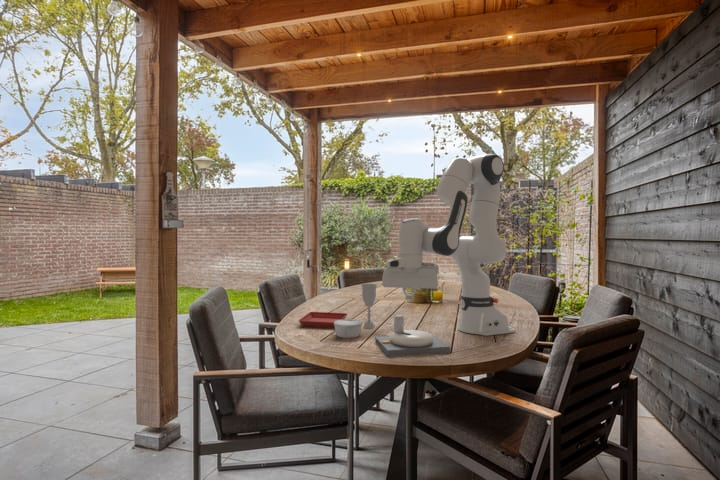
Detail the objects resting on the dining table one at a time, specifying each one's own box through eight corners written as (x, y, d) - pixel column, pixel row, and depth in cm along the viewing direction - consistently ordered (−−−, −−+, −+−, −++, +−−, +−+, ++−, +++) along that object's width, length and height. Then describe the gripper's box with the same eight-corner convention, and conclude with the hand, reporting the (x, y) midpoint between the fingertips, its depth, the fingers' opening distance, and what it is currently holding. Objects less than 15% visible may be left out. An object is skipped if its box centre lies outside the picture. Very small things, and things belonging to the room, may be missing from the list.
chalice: (375, 329, 171) (375, 286, 171) (359, 328, 172) (359, 285, 172) (378, 325, 178) (378, 284, 178) (362, 324, 180) (362, 283, 179)
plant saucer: (339, 329, 172) (339, 321, 172) (297, 327, 175) (297, 320, 175) (347, 320, 190) (348, 313, 190) (310, 318, 193) (310, 311, 193)
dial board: (431, 339, 156) (431, 332, 156) (450, 352, 139) (450, 344, 139) (375, 342, 152) (375, 335, 152) (387, 356, 135) (387, 348, 135)
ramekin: (358, 330, 169) (358, 318, 169) (365, 337, 158) (365, 324, 158) (331, 332, 166) (331, 319, 166) (336, 339, 156) (336, 325, 155)
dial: (441, 340, 146) (441, 318, 146) (416, 349, 135) (416, 325, 135) (406, 333, 156) (407, 312, 156) (381, 340, 145) (381, 318, 145)
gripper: (437, 262, 153) (436, 299, 153) (382, 261, 154) (381, 298, 154) (440, 263, 147) (439, 302, 147) (382, 262, 147) (381, 300, 148)
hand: (409, 300), depth 150 cm, fingers closed
